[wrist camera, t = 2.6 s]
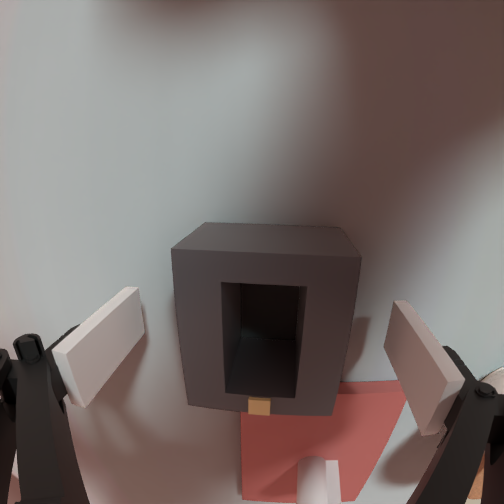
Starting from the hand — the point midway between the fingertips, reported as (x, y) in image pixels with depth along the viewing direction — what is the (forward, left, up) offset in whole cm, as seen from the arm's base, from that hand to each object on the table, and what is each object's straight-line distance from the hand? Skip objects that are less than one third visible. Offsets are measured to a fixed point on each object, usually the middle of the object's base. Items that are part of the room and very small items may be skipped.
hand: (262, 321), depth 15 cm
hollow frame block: (0, 0, -2) cm, 2 cm away
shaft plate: (+14, +4, -2) cm, 14 cm away
